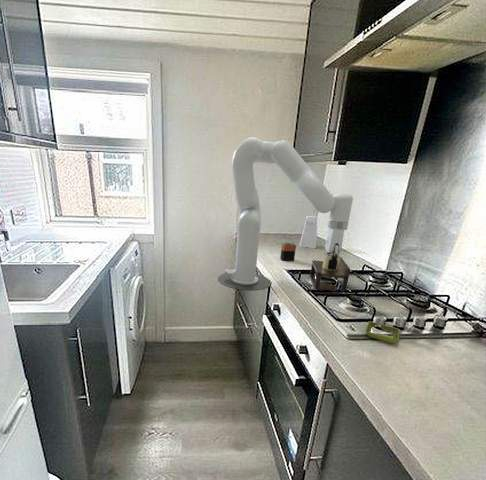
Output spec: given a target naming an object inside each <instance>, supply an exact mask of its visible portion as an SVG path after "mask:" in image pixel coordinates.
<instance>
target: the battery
mask: <svg viewBox="0 0 486 480" xmlns="http://www.w3.org/2000/svg"><path fill="white" fill-rule="evenodd" d="M296 249H297V245H296V244H295V243H294V242H290V243H289V242H288V241H284V242H282V243H281V250H280V256H279V257H280V258H279V259H280V260H281V261H283V262H294V261H295V256H296Z"/></svg>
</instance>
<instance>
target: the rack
mask: <svg viewBox="0 0 486 480" xmlns="http://www.w3.org/2000/svg"><path fill="white" fill-rule="evenodd" d="M322 266H323V260H316V259H315V260H312V261H311V268H310V273H309V278H310V281H311V284H312V288H313V287H314V288H313V290H314V289H317V290H331V291H336V290H338V289H337V287H336V286H334V285H332V284H326V283H323V282H320V281H321V276H325V277H334V278H337V279H338V281H339V282H340V280H339V279H342V283H341V282H340V284H341V285H342V287H341V291H346V292H347V287H348V283H349V278H350V273H351V268H350V266H349V265H348V264H347V263H346V261H345V260H344V259H343V258H342V257H341V256H340V262H339V267H338V270H327V269H324V268H323V267H322ZM315 273H316V274H315ZM315 275H317V276H316V279H315Z"/></svg>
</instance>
